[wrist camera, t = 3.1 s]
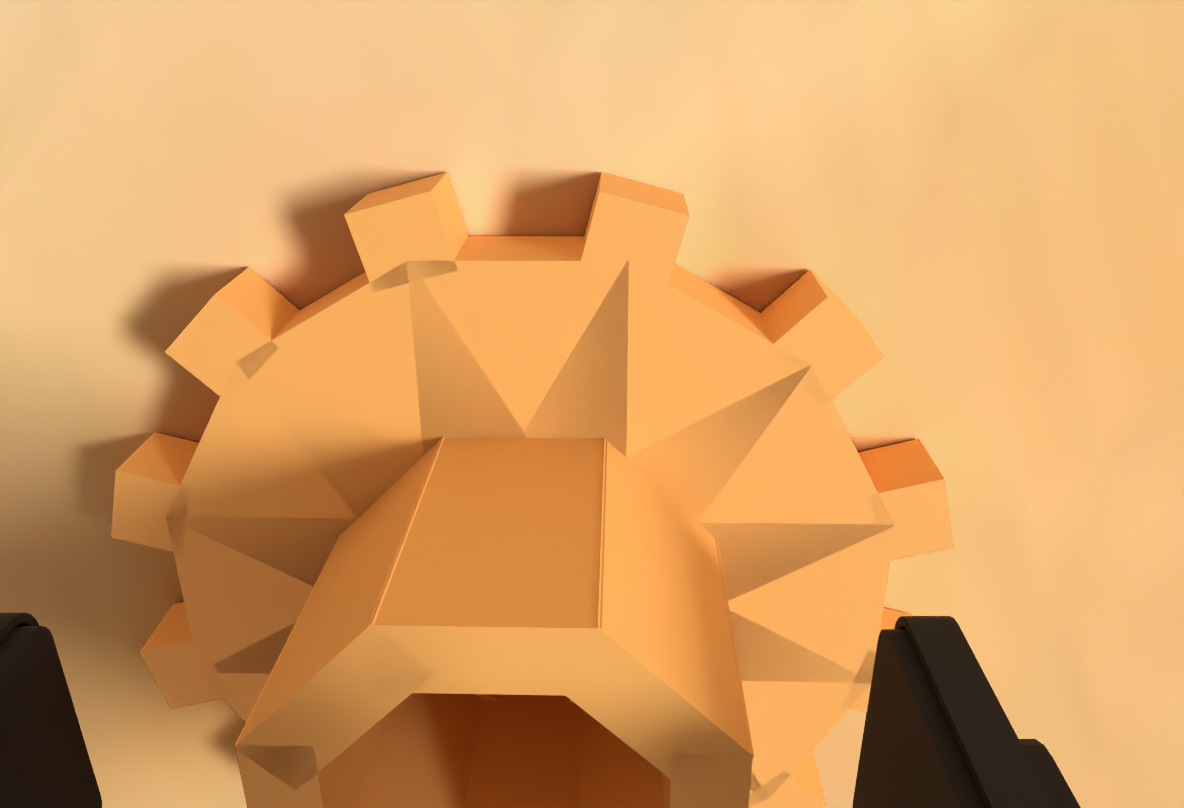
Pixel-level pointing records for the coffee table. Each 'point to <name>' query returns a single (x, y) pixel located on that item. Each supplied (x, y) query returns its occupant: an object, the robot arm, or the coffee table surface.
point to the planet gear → (526, 522)
